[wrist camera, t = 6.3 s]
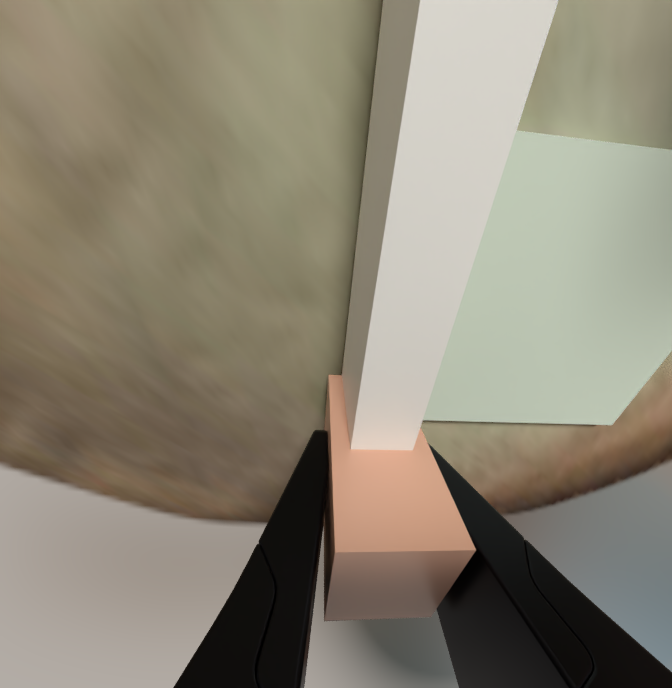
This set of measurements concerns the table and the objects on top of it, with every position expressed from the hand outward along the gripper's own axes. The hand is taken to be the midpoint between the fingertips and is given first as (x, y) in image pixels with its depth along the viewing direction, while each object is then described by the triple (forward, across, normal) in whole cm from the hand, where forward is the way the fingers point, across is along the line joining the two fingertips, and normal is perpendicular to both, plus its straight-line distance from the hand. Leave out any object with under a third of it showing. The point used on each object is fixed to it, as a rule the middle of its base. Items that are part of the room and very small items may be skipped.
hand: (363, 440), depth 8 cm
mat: (+2, -6, -4) cm, 8 cm away
